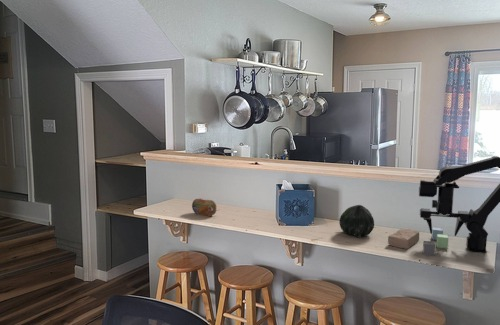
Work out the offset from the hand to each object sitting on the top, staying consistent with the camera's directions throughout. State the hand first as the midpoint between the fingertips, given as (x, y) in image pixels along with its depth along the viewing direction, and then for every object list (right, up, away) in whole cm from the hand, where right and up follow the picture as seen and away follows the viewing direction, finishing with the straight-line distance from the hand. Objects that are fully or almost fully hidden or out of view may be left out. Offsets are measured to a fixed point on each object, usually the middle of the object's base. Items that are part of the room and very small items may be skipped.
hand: (443, 234), depth 181 cm
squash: (-32, -3, +16) cm, 36 cm away
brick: (-14, -5, +5) cm, 16 cm away
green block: (0, -5, +1) cm, 5 cm away
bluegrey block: (+2, -4, +11) cm, 11 cm away
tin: (-104, +2, +48) cm, 115 cm away
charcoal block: (-9, -6, -8) cm, 14 cm away
